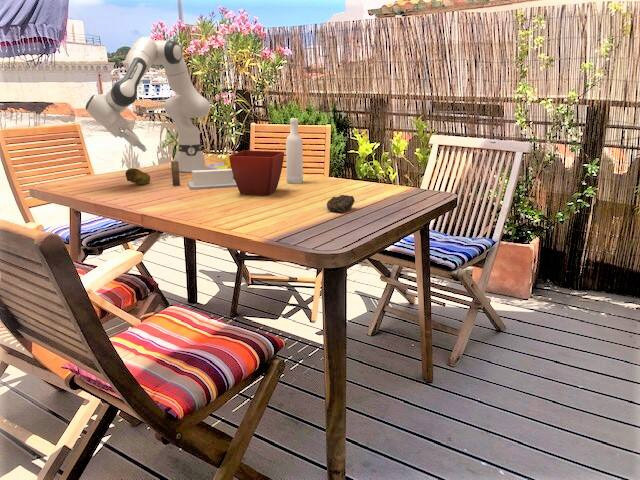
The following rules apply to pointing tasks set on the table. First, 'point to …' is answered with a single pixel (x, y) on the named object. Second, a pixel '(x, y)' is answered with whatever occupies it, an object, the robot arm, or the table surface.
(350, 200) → the dark brown rock
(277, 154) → the plant pot
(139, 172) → the potato
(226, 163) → the fruit bowl
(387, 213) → the table surface
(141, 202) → the table surface
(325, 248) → the table surface
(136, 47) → the robot arm
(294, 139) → the bottle
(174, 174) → the post
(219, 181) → the ridge
